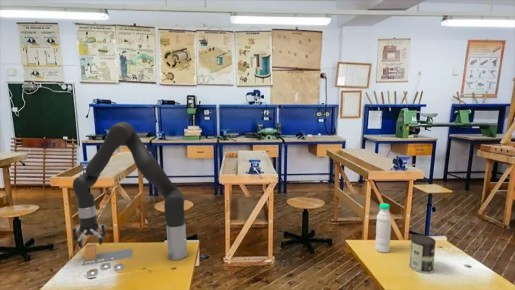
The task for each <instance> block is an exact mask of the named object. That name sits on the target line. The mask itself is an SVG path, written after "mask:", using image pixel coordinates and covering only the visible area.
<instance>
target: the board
mask: <svg viewBox="0 0 515 290" xmlns="http://www.w3.org/2000/svg"><path fill="white" fill-rule="evenodd" d="M132 256H133V248H128V249H127V248H126V249H121V250H120V249H119V250H115V251H107V252H101V253H97V256H96V259H91V260H85V258H84V259H83V262H82V265H81V266H87V265H93V264H95V265H96V264H98V263H104V262H105V263H108V262H112V261H119V260H124V259H131V258H132Z"/></svg>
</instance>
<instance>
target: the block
mask: <svg viewBox="0 0 515 290" xmlns="http://www.w3.org/2000/svg"><path fill="white" fill-rule="evenodd" d="M97 250H98V249H97V243H90V244H86V245H85V247H84V259H85V260H91V259H96V256H97V254H98V251H97Z"/></svg>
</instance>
